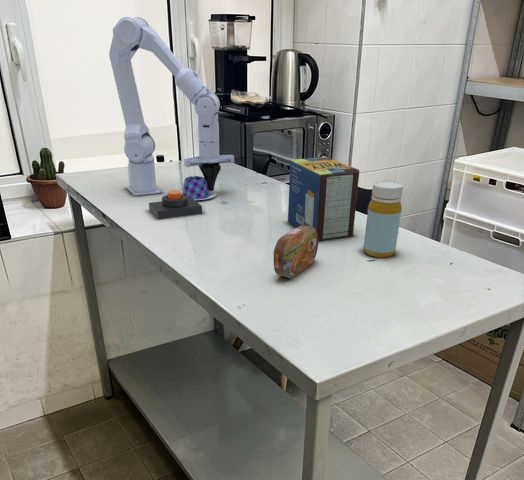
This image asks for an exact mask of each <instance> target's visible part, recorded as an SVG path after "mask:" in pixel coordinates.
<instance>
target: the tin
mask: <svg viewBox="0 0 524 480" xmlns="http://www.w3.org/2000/svg"><path fill="white" fill-rule="evenodd" d="M318 248H319V241H318V233H317V230H316V228H315V227H313V226H299V227H297V228H296V227H294V229H292V230H290V231H289V232H287V233H285V234H283V235H282V236H280V237H279V238H278V240H277V241H276V244H275V246H274V249H273V270H274V272H275V274H276V275H277V276H279V277H283V278H287V279H293V278H294V277H296V276H297V275H299V274H300V273H301V272H303V271H304V270H306V269H307V268H309V267H310V266H311V265H312V264H313V262H314V261H315V259H316V256H317V254H318V250H319V249H318Z"/></svg>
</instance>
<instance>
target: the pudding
mask: <svg viewBox="0 0 524 480" xmlns="http://www.w3.org/2000/svg"><path fill="white" fill-rule="evenodd" d="M179 191H181V194H182V195H186V196H187V197H188V198H192V199H194V200H195V201H204V200H208V199H212V198H214V197H216V196H217V192H216V191H215V190H214V191H209V189H208V186H207V182H206V179H205V178H204V176H198V175H192V176H187V177H185V178H184V181H183V187H182V189H180V190H179Z"/></svg>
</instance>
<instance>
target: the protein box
mask: <svg viewBox="0 0 524 480" xmlns="http://www.w3.org/2000/svg"><path fill="white" fill-rule="evenodd" d="M359 178H360V169H357V168H355V167H353V166H350V165H348V164H345V163H343V162H340V161H338V160H335V159H333V158H330V157H329V156H321V157H310V158H309V157H308V158H297V159H290V160H289V182H288V183H289V186H288V188H289V189H288V207H287V209H288V210H287V223H288V224H290V225H291V226H293V227H294V228H297V227H299V226H313V227H315V228H316V230H317V233H318V242H319V241H320V242H321V241H326V240H327V241H328V240H334V239H341V238H348V237H353V236H354V227H355V221H356V219H355V218H356V210H357V199H358V189H359V181H360V180H359Z"/></svg>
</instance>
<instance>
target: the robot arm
mask: <svg viewBox="0 0 524 480" xmlns="http://www.w3.org/2000/svg"><path fill="white" fill-rule="evenodd" d="M109 47H110V48H109V52H108V57H109V60H110V65H111V69H112V73H113V78H114V81H115V86H116V91H117V95H118V98H119V104H120V107H121V112H122V116H123V120H124V124H125V125H124V126H125V129H124V135H123V137H124V147H123V151H124V154H125V156H126V157H127V159H128V163H127V175H128V184H129V185H127V186H126V189H127V190H128V191H129V192H130V193H131V194H132V195H133V196H135V197H137V196H145V195H154V194H161V193H162V192H161V191H162V190H160V189H159V188H158V187H157V179H156V177H157V176H156V167H155V158H154V156H153V153H154V152H155V150H156V142H155V140H154V138H153V136H152V135H151V132H150V129H149V127H148V126H147V124H146V123H145V119H144V114H143V109H142V105H141V101H140V96H139V92H138V88H137V81H136V78H135V73H134V68H133V65H132V59H133V57H134V56H135V54H136V53H137V52H138V50H139V49H141V50H145V51H148V52H150V53H152V54H153V55H154V56H155V57H156V58H157V59H158V60H159V61H160V62H161V63H162V64H163V65H164V67H166V69H167V70H168V71H169V72H170V73H171V74H172V75H173V76H174V83H175V86H176V87H177V88H178V89H179V91H180V92H181V93H182V94H183V95H184V96H185V97H186V99H187V100H188V101H189V102H190V104H192V105H194V106H193V109H194V111H195V113H196V115H197V134H198V135H197V136H198V138H197V139H198V156H194V157H188V158H183V166H184V167H185V168H190V167H196V166H197V167H198V168H199V170H200V172H201V174H202V177H203V178H205V179H206V182H207V186H208V189H209V191H215V186H216V185H215V184H216V181H217V178H218V175H219V173H220V171H221V169H222V166H221V165H220V164H228V163H229V164H235V155H233V154H220V125H219V113H218V112H219V110H220V107H221V106H220V105H221V102H220V99H219V97H218V95H217V93H215V92H213V91H211V88H210V86H206V85H205V83H204V82H203V81H202V80H201V78H199V77H198V76H199V73H198V71H196V70H193V69H192V68H191V67H184V66H183V65H182V63H181V62H180V61H179V59H178V58H177V57H176V56H175V54H174V53H173V51H172V50H171V49H170V48H169V46H168V45H167V44H166V43H165V41H164V39H163V38H162V37H161V36H160V35H159V33H158V32H157V31H156V29H154V28H153V27H152V26H150V25H149V22H148V21H147V20H146V19H144V18H143V17H139V16H135V17H130V16H123V17H122V18H119V20H118V21H117V23H116V24H115V25H114V27H113V28H112V38H111V42H110V46H109Z"/></svg>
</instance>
